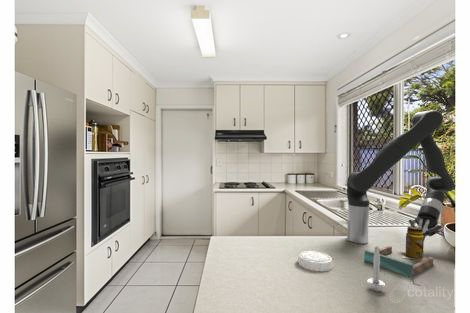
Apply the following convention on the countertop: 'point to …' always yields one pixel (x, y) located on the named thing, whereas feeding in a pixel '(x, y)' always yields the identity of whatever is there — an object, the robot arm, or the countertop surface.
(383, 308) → the countertop surface
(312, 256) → the mooncake
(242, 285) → the countertop surface
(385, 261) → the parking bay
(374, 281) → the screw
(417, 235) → the condiment
